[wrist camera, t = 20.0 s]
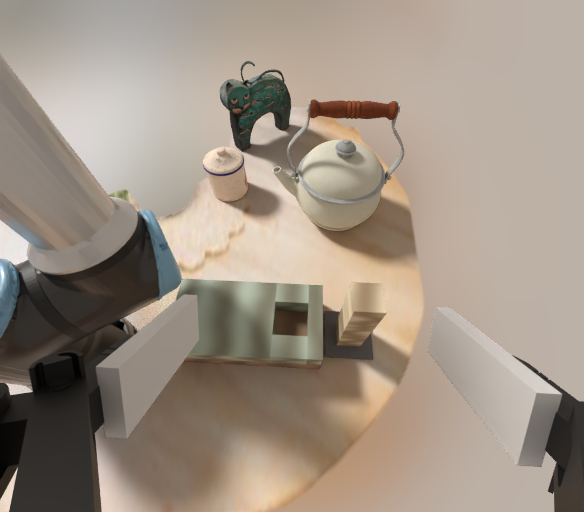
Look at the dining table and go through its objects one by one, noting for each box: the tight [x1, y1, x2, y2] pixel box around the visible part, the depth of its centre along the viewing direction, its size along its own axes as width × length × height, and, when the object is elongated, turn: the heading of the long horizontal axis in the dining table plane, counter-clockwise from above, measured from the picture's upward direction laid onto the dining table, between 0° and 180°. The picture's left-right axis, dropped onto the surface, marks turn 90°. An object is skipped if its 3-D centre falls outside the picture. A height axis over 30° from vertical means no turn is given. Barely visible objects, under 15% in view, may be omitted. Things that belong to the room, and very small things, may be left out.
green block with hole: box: [176, 279, 323, 369], centre depth 46 cm, size 24×12×7 cm, turn 87°
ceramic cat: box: [220, 61, 291, 151], centre depth 71 cm, size 20×6×20 cm, turn 130°
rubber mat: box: [325, 311, 373, 360], centre depth 48 cm, size 8×8×1 cm
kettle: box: [272, 100, 404, 231], centre depth 54 cm, size 25×18×25 cm
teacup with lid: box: [203, 147, 248, 202], centre depth 64 cm, size 12×9×12 cm
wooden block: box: [336, 282, 387, 346], centre depth 41 cm, size 4×4×16 cm
